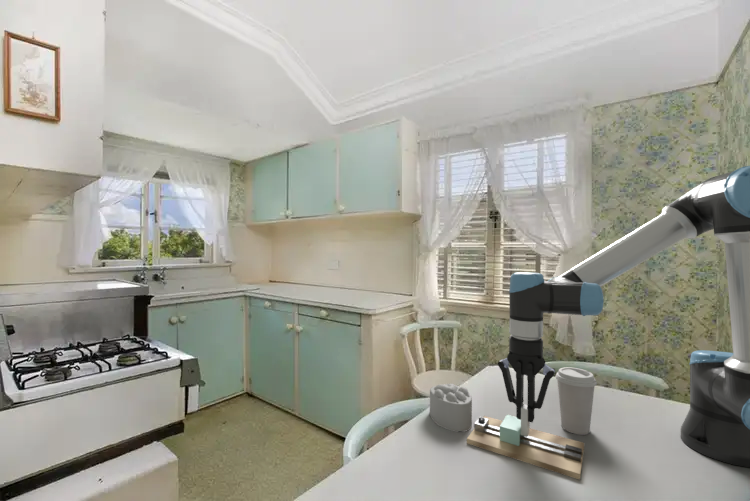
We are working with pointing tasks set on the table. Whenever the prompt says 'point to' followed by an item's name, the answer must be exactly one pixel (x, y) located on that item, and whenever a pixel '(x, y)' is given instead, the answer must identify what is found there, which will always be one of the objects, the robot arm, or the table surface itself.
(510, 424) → the mint sliding carriage
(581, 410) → the coffee cup
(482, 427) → the slide rail
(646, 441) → the table surface
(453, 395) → the lumpy-topped squat cylinder
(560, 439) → the board
